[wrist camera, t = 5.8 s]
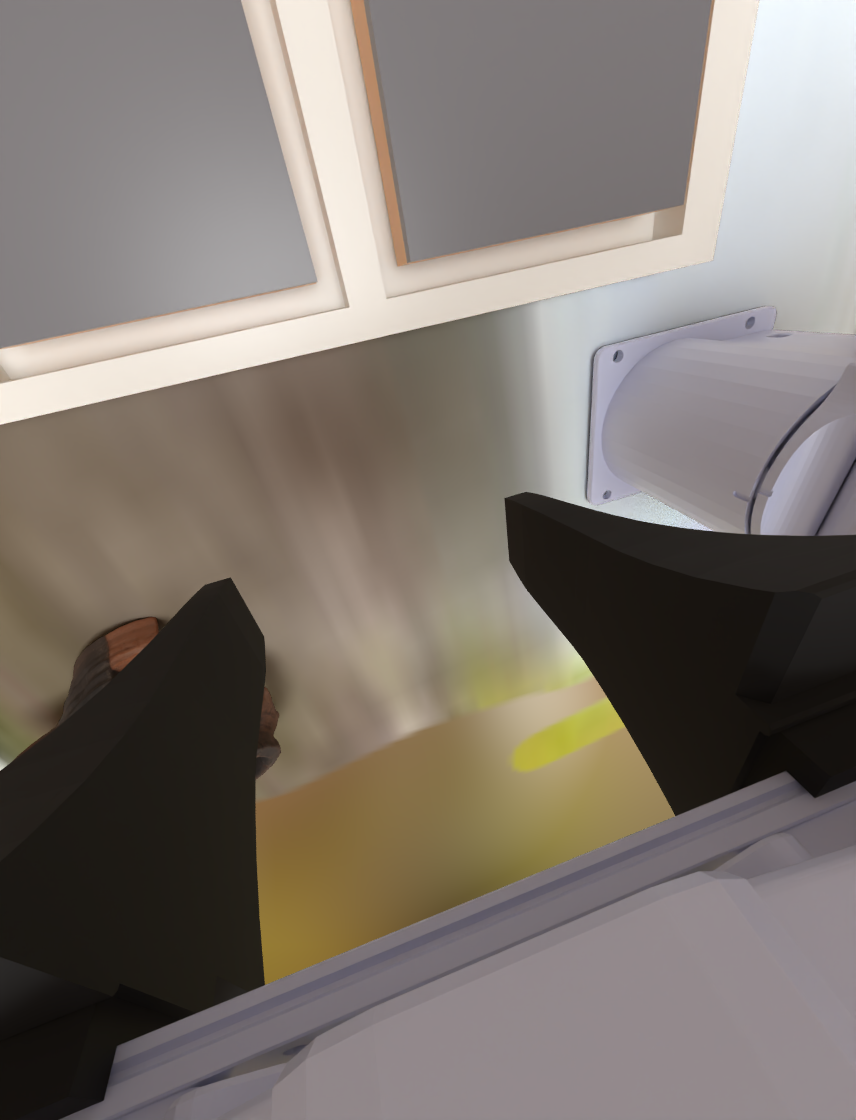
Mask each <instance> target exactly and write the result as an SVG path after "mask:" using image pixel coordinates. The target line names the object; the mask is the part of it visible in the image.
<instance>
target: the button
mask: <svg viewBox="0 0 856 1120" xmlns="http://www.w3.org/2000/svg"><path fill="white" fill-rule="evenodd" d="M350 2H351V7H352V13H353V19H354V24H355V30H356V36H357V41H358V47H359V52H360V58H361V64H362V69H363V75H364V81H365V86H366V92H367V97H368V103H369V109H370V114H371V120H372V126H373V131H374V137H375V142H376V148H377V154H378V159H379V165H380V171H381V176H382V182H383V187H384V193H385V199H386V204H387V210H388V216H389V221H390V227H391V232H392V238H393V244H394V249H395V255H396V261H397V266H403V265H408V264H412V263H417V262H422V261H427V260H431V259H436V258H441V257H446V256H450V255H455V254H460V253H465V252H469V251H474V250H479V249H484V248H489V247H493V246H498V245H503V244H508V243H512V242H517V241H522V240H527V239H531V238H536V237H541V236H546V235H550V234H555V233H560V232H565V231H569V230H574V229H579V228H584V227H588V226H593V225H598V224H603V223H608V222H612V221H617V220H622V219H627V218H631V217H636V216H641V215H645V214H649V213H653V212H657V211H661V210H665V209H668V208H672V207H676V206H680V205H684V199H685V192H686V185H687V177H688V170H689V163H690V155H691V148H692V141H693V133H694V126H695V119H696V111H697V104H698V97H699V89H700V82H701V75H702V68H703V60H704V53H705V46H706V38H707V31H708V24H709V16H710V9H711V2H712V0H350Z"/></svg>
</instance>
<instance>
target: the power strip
mask: <svg viewBox="0 0 856 1120" xmlns="http://www.w3.org/2000/svg"><path fill="white" fill-rule="evenodd" d="M241 2H242V6H243V10H244V13H245V17H246V21H247V24H248V28H249V32H250V35H251V39H252V43H253V46H254V50H255V54H256V57H257V61H258V65H259V68H260V72H261V76H262V79H263V83H264V87H265V90H266V94H267V98H268V101H269V105H270V109H271V112H272V116H273V120H274V123H275V127H276V131H277V134H278V138H279V142H280V145H281V149H282V153H283V156H284V160H285V164H286V167H287V171H288V175H289V178H290V182H291V186H292V189H293V193H294V197H295V200H296V204H297V208H298V211H299V215H300V219H301V222H302V226H303V230H304V233H305V237H306V241H307V244H308V248H309V252H310V255H311V259H312V263H313V266H314V270H315V274H316V277H317V281H318V282H317V283H316V284H313V285H308V286H303V287H298V288H294V289H289V290H284V291H279V292H275V293H270V294H265V295H260V296H256V297H251V298H246V299H241V300H237V301H232V302H227V303H222V304H218V305H213V306H208V307H203V308H198V309H194V310H189V311H184V312H179V313H175V314H170V315H165V316H160V317H156V318H151V319H146V320H141V321H137V322H132V323H127V324H122V325H118V326H113V327H108V328H103V329H99V330H94V331H89V332H84V333H79V334H75V335H70V336H65V337H60V338H56V339H51V340H46V341H41V342H37V343H32V344H27V345H22V346H18V347H12V348H5V349H0V425H1V424H5V423H9V422H14V421H18V420H23V419H27V418H31V417H36V416H40V415H44V414H49V413H53V412H57V411H62V410H66V409H70V408H75V407H79V406H83V405H88V404H92V403H96V402H101V401H105V400H109V399H114V398H118V397H122V396H127V395H131V394H135V393H140V392H144V391H148V390H153V389H157V388H162V387H166V386H170V385H175V384H179V383H183V382H188V381H192V380H196V379H201V378H205V377H209V376H214V375H218V374H222V373H227V372H231V371H235V370H240V369H244V368H248V367H253V366H257V365H261V364H266V363H270V362H274V361H279V360H283V359H287V358H292V357H296V356H301V355H305V354H309V353H314V352H318V351H322V350H327V349H331V348H335V347H340V346H344V345H348V344H353V343H357V342H361V341H366V340H370V339H374V338H379V337H383V336H387V335H392V334H396V333H400V332H405V331H409V330H413V329H418V328H422V327H427V326H431V325H435V324H440V323H444V322H448V321H453V320H457V319H461V318H466V317H470V316H474V315H479V314H483V313H487V312H492V311H496V310H500V309H505V308H509V307H513V306H518V305H522V304H526V303H531V302H535V301H539V300H544V299H548V298H552V297H557V296H561V295H566V294H570V293H574V292H579V291H583V290H587V289H592V288H596V287H600V286H605V285H609V284H613V283H618V282H622V281H626V280H631V279H635V278H639V277H644V276H648V275H652V274H657V273H661V272H665V271H670V270H674V269H678V268H683V267H687V266H691V265H696V264H700V263H705V262H709V261H713V258H714V252H715V247H716V241H717V235H718V230H719V224H720V219H721V213H722V207H723V202H724V196H725V191H726V185H727V179H728V174H729V168H730V163H731V157H732V151H733V146H734V140H735V135H736V129H737V123H738V118H739V112H740V106H741V101H742V95H743V90H744V84H745V78H746V73H747V67H748V62H749V56H750V50H751V45H752V39H753V34H754V28H755V22H756V17H757V11H758V6H759V0H712V2H711V9H710V16H709V24H708V31H707V38H706V46H705V53H704V60H703V68H702V75H701V82H700V89H699V97H698V104H697V111H696V119H695V126H694V133H693V141H692V148H691V155H690V163H689V170H688V177H687V185H686V192H685V199H684V205H680V206H676V207H672V208H668V209H665V210H661V211H657V212H653V213H649V214H645V215H641V216H636V217H631V218H627V219H622V220H617V221H612V222H608V223H603V224H598V225H593V226H588V227H584V228H579V229H574V230H569V231H565V232H560V233H555V234H550V235H546V236H541V237H536V238H531V239H527V240H522V241H517V242H512V243H508V244H503V245H498V246H493V247H489V248H484V249H479V250H474V251H469V252H465V253H460V254H455V255H450V256H446V257H441V258H436V259H431V260H427V261H422V262H417V263H412V264H408V265H403V266H397V261H396V255H395V249H394V244H393V238H392V232H391V227H390V221H389V216H388V210H387V204H386V199H385V193H384V187H383V182H382V176H381V171H380V165H379V159H378V154H377V148H376V142H375V137H374V131H373V126H372V120H371V114H370V109H369V103H368V97H367V92H366V86H365V81H364V75H363V69H362V64H361V58H360V52H359V47H358V41H357V36H356V30H355V24H354V19H353V13H352V7H351V2H350V0H241Z"/></svg>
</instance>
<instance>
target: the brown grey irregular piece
mask: <svg viewBox="0 0 856 1120" xmlns="http://www.w3.org/2000/svg"><path fill="white" fill-rule="evenodd" d="M158 633H159V629H158V623H157V619H156V618H155V617H148V618H145V619H141V620H137V621H134V622H131V623H129V624H127V625H124V626H121V627H119V628H117V629H116V630H114V631H112V632H110V633H108V634H107V635H105V636H102V637H101V638H99V639H98V640H96V641H95V642H93V643H92V644H91V645H90V646H88V647H86V648H85V649H84V651H83V652H82V653H81V655H80V656H79V657H78V658H77V660H76V662H75V665H74V671H73V679H72V682H71V686H70V690H69V694H68V697H67V699H66V701H65V703H64V707H63V709H64V713H63V715H62V717H61V719H60V720H59V723H58V724H57V725H56V727H55V728H53V729H52V730H51V731H50V732H48V733H47V734H45V735H44V736H42V737H41V738H39V739H38V740H37V741H35V742H34V743H33V744H31V745H30V746H29V747H28V748H27V749H25V750H24V751H23V752H22V753H21V754H20V755H22V754H23V753H24V752H26V751H27V750H28V749H30V748H31V747H32V746H34V745H35V744H36V743H37V742H39V741H40V740H41V739H43V738H44V737H45V736H47V735H48V734H49V733H51V732H52V731H53V730H54V729H56V728H57V727H58V726H59V725H61V724H62V723H63V722H64V721H66V720H67V719H68V718H69V717H70V716H71V715H73V714H74V713H75V712H76V711H77V710H79V709H80V708H81V707H82V706H83V705H84V704H86V703H87V702H88V701H89V700H90V699H91V698H93V697H94V696H95V695H96V694H97V693H98V692H99V691H100V690H101V689H103V688H104V687H105V686H106V685H107V684H108V683H109V682H110V681H111V680H112V679H113V678H114V677H115V676H116V675H117V674H118V673H119V672H120V671H121V670H122V669H123V668H124V667H125V666H126V665H127V664H128V663H129V662H130V661H131V660H132V659H133V658H134V657H136V656H137V655H138V654H139V653H140V652H141V651H142V650H143V649H144V648H145V647H146V646H147V645H148V644H149V643H150V641H151V640H152V639H153V638H154V637H155V636H156V635H157V634H158ZM278 718H279V713H278V712H277V711H276V709H275V707H274V704H273V702H272V697H271V695H270V693H269V691H268V689H267V688H266V687H264V694H263V703H262V712H261V721H260V730H259V739H258V747H257V757H256V772H255V780H256V779H257V778H259V777H260V776H261V775H263V774H264V773H265V772H266V771H267V770H268V769H269V768H270V767H271V766H272V765H273V764H274V763H275V761H276V760H277V758H278V757H279V755H280V753H281V750H280V749H281V748H280V745H279V743H278V741H277V740H276V739H275V738H274V736H273V734H274V731H275V729H276V726H277V721H278ZM20 755H19V756H20ZM19 756H17V757H16V758H15V759H17V758H18V757H19ZM15 759H14V760H15ZM14 760H13V761H14ZM13 761H12V762H13Z"/></svg>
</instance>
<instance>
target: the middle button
mask: <svg viewBox="0 0 856 1120" xmlns="http://www.w3.org/2000/svg"><path fill="white" fill-rule="evenodd" d="M317 282H318V281H317V277H316V274H315V270H314V266H313V263H312V259H311V255H310V252H309V248H308V244H307V241H306V237H305V233H304V230H303V226H302V222H301V219H300V215H299V211H298V208H297V204H296V200H295V197H294V193H293V189H292V186H291V182H290V178H289V175H288V171H287V167H286V164H285V160H284V156H283V153H282V149H281V145H280V142H279V138H278V134H277V131H276V127H275V123H274V120H273V116H272V112H271V109H270V105H269V101H268V98H267V94H266V90H265V87H264V83H263V79H262V76H261V72H260V68H259V65H258V61H257V57H256V54H255V50H254V46H253V43H252V39H251V35H250V32H249V28H248V24H247V21H246V17H245V13H244V10H243V6H242V2H241V0H0V349H5V348H12V347H18V346H22V345H27V344H32V343H37V342H41V341H46V340H51V339H56V338H60V337H65V336H70V335H75V334H79V333H84V332H89V331H94V330H99V329H103V328H108V327H113V326H118V325H122V324H127V323H132V322H137V321H141V320H146V319H151V318H156V317H160V316H165V315H170V314H175V313H179V312H184V311H189V310H194V309H198V308H203V307H208V306H213V305H218V304H222V303H227V302H232V301H237V300H241V299H246V298H251V297H256V296H260V295H265V294H270V293H275V292H279V291H284V290H289V289H294V288H298V287H303V286H308V285H313V284H316V283H317Z"/></svg>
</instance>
